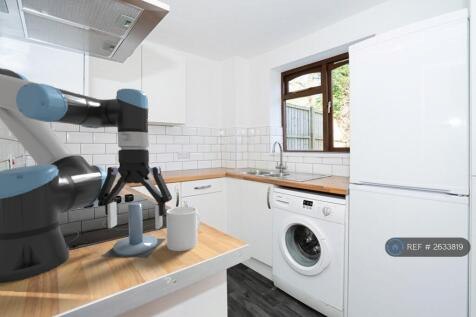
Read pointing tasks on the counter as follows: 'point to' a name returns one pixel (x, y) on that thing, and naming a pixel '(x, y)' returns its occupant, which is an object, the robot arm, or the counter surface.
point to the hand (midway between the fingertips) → (135, 227)
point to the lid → (135, 235)
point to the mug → (182, 228)
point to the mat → (144, 255)
